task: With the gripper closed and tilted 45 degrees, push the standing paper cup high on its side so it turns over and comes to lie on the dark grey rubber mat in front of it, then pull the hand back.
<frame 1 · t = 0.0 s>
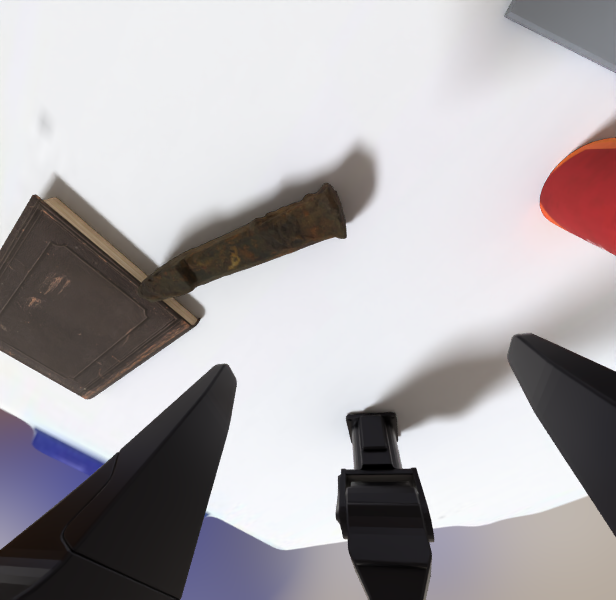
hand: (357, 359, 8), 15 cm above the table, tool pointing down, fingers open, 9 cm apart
hand tool: (243, 248, 23), on the table
paper cup: (584, 184, 18), on the table
hardcover book: (87, 313, 29), on the table
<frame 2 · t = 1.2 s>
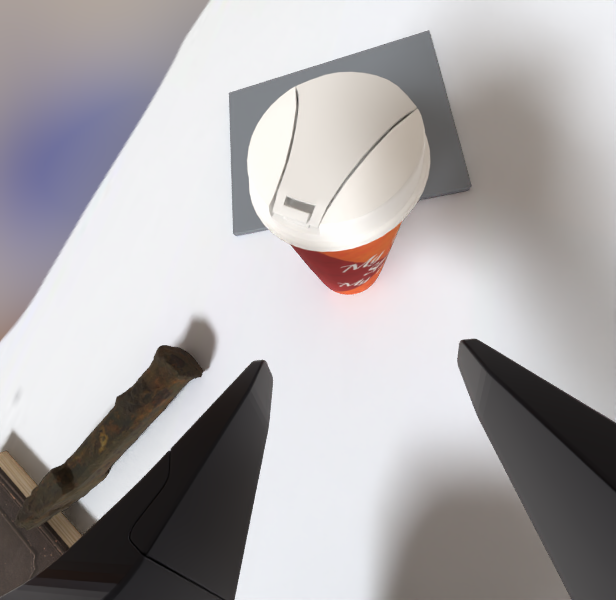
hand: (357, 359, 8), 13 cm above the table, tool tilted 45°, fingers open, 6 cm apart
hand tool: (137, 434, 24), on the table
mat: (331, 136, 26), on the table
paper cup: (349, 265, 23), on the table
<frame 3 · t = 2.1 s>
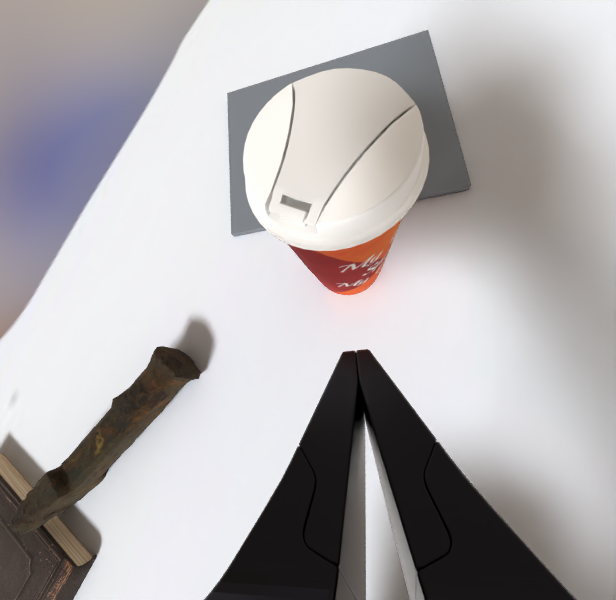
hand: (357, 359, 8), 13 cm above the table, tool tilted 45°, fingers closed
hand tool: (134, 436, 24), on the table
mat: (330, 136, 26), on the table
paper cup: (348, 265, 23), on the table
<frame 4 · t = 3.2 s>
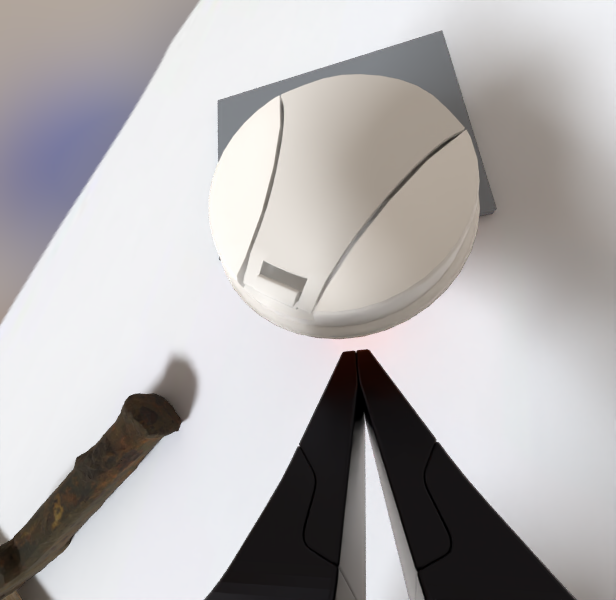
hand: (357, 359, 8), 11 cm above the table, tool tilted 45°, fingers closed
hand tool: (105, 495, 21), on the table
mat: (332, 149, 23), on the table
paper cup: (352, 299, 20), on the table
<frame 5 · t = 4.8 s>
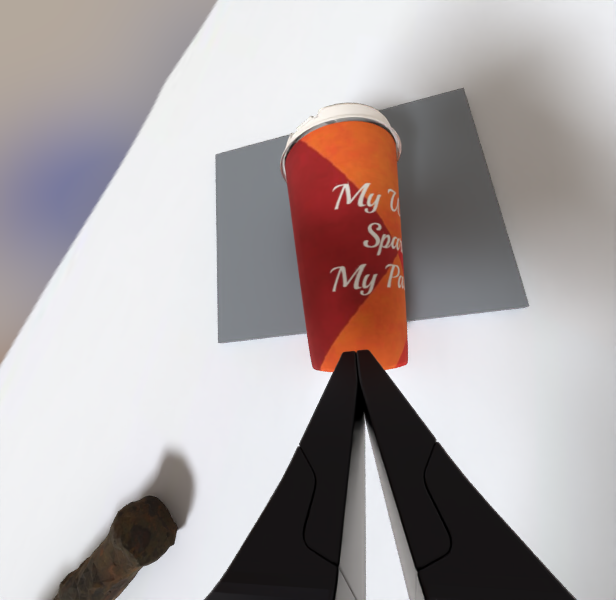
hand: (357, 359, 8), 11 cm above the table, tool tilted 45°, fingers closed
mat: (341, 219, 21), on the table
paper cup: (359, 367, 15), point 3 cm above the table, touching mat
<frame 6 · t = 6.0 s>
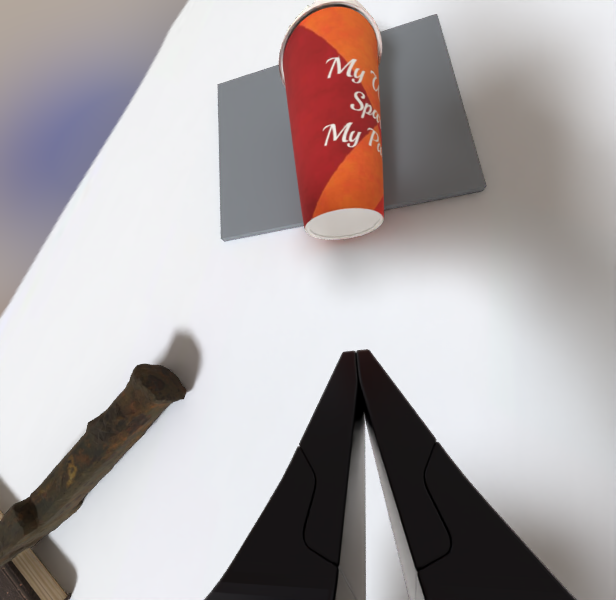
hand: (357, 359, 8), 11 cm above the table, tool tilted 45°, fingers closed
hand tool: (115, 460, 22), on the table
mat: (329, 131, 24), on the table
paper cup: (344, 229, 18), point 3 cm above the table, touching mat
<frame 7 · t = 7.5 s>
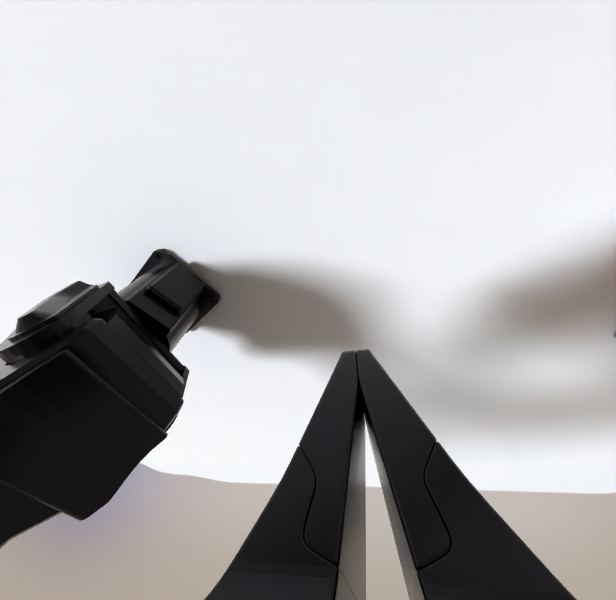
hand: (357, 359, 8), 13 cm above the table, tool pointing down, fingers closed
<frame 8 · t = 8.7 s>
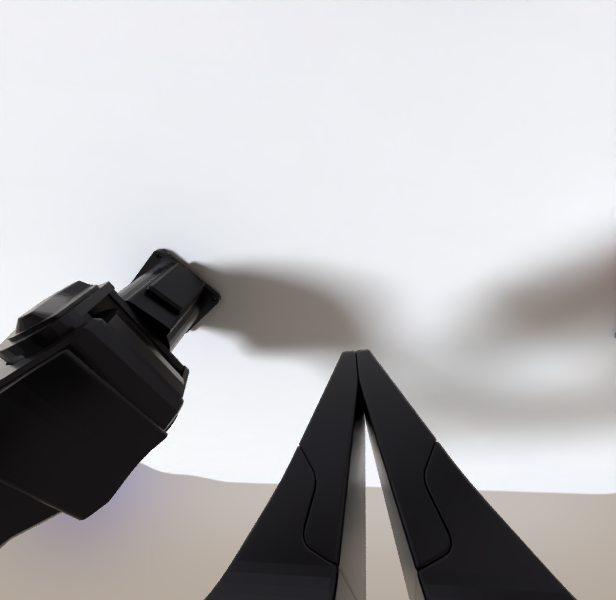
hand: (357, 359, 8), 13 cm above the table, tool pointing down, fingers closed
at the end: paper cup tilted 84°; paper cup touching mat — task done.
